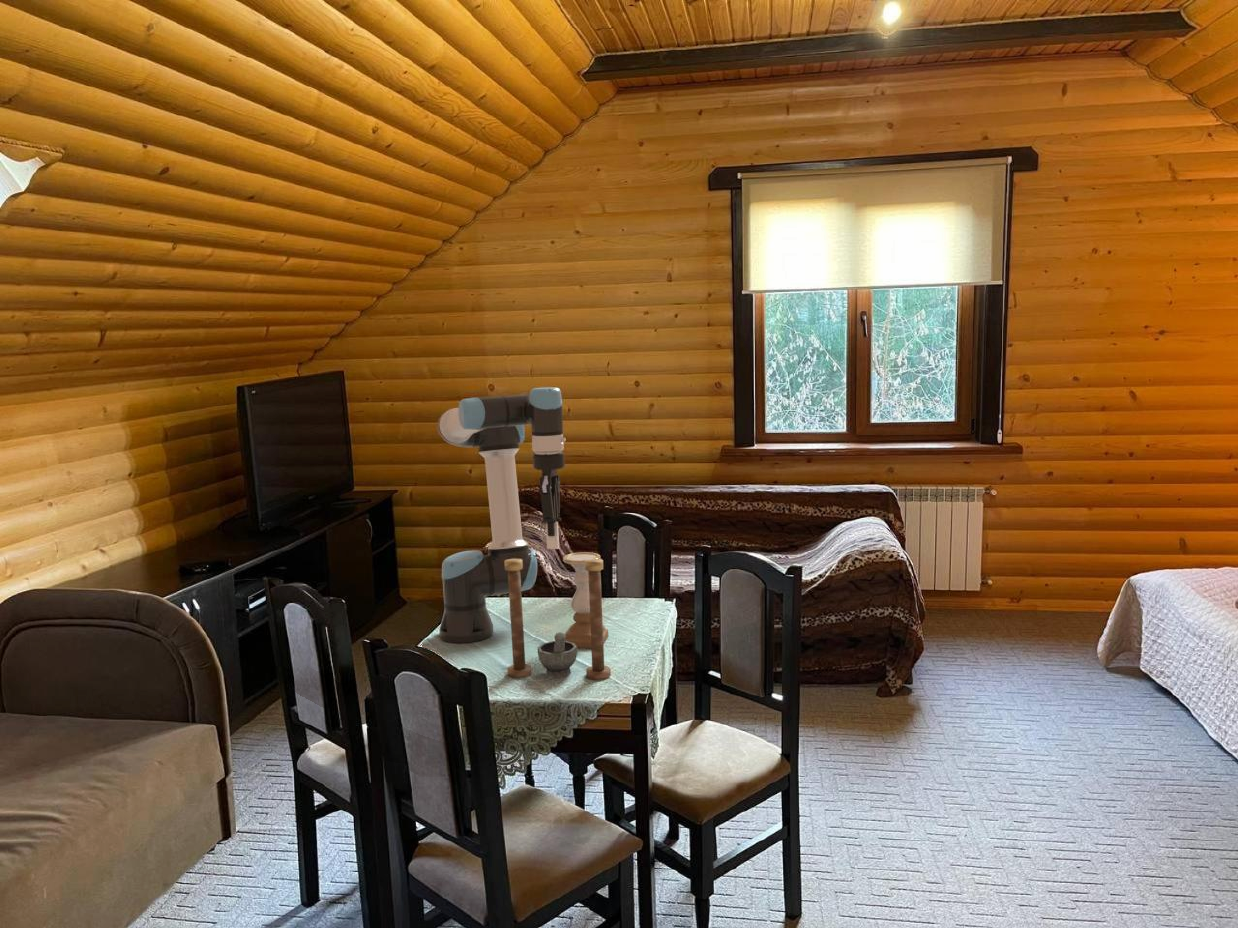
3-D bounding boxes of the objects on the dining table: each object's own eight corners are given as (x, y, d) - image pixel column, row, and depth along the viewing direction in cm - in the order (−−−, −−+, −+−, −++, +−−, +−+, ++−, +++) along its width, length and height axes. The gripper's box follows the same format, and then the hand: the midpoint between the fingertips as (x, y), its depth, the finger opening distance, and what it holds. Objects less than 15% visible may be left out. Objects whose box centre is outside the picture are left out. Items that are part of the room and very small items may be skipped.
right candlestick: (584, 679, 228) (579, 563, 224) (588, 670, 234) (584, 557, 230) (608, 680, 227) (604, 563, 223) (612, 671, 233) (608, 557, 229)
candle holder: (600, 648, 250) (596, 561, 246) (560, 647, 252) (556, 561, 248) (609, 635, 260) (605, 551, 257) (571, 634, 262) (567, 551, 259)
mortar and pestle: (536, 669, 236) (534, 623, 234) (572, 664, 238) (570, 619, 237) (544, 685, 225) (541, 637, 224) (582, 680, 228) (580, 632, 226)
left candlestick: (504, 677, 231) (498, 563, 227) (511, 669, 237) (504, 557, 233) (528, 678, 230) (522, 563, 226) (534, 669, 236) (528, 557, 232)
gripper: (558, 455, 217) (562, 554, 220) (569, 448, 230) (573, 542, 233) (526, 456, 218) (531, 554, 221) (539, 448, 231) (544, 542, 234)
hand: (553, 548), depth 227 cm, fingers closed
